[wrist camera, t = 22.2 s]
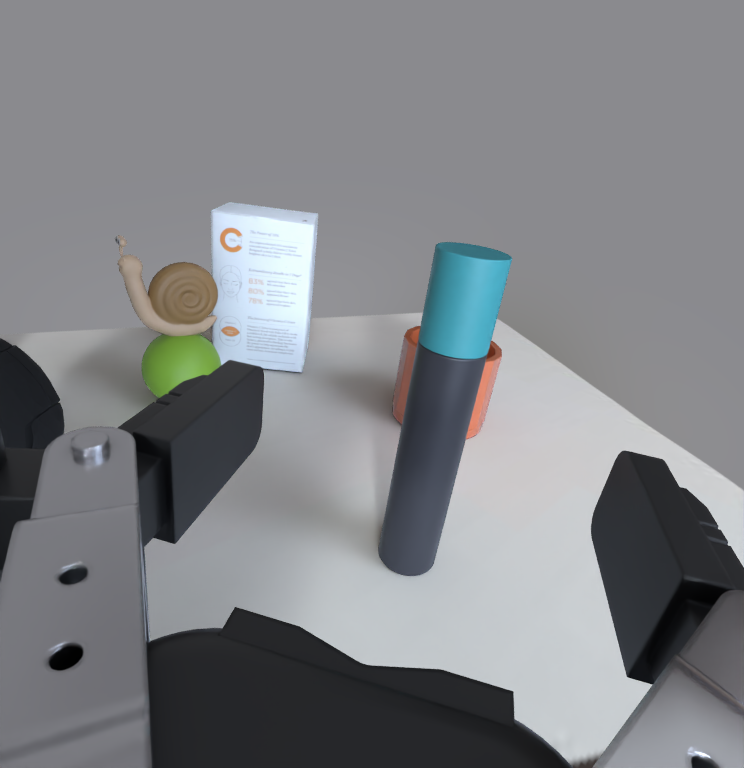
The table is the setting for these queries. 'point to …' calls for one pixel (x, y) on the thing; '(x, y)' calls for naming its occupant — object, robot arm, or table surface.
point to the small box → (263, 284)
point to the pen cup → (483, 391)
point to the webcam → (27, 402)
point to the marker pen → (441, 399)
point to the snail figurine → (173, 320)
